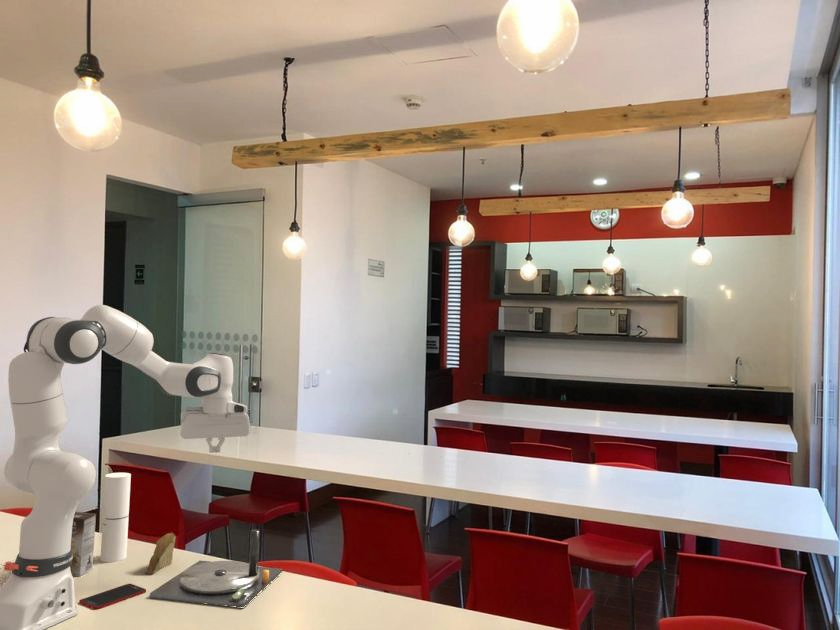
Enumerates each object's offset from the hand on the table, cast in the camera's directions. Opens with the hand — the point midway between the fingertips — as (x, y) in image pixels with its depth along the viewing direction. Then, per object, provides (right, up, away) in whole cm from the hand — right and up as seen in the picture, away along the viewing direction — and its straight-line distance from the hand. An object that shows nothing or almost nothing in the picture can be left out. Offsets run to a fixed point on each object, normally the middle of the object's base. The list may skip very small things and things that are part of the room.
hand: (214, 452), depth 199 cm
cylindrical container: (-31, -32, 0) cm, 44 cm away
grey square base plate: (+7, -33, -18) cm, 38 cm away
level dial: (+7, -31, -18) cm, 37 cm away
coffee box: (-37, -32, -12) cm, 50 cm away
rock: (-14, -33, -7) cm, 36 cm away
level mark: (+20, -32, -18) cm, 42 cm away
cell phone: (-17, -32, -29) cm, 46 cm away
